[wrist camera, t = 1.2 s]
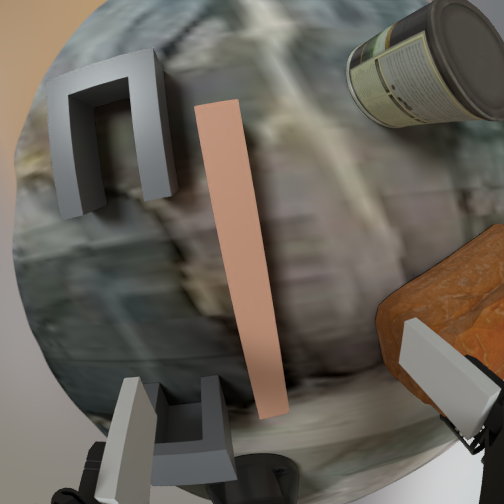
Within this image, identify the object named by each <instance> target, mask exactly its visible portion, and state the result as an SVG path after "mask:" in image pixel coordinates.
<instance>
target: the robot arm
mask: <svg viewBox="0 0 504 504" xmlns="http://www.w3.org/2000/svg"><path fill="white" fill-rule="evenodd" d="M399 364H400V365H401V366H402V367H403V368H404V369H405V370H406V371H407V373H408V374H409V375H410V376H411V377H412V378H413V379H414V380H415V381H416V382H417V384H418V385H419V386H420V387H421V388H422V389H423V390H424V391H425V392H426V394H427V395H428V396H429V397H430V398H431V399H432V400H433V401H434V403H435V404H436V405H437V406H438V407H439V408H440V409H441V410H442V412H443V413H444V414H445V415H446V416H447V417H448V418H449V420H450V421H451V422H452V423H453V424H454V425H455V426H456V428H457V429H458V430H459V431H460V432H461V433H462V435H463V436H464V437H465V438H466V439H467V440H469V439H471V438H472V437H473V436H475V435H476V434H478V433H479V432H480V430H481V428H482V426H483V425H484V424H485V425H486V426H487V429H486V430H485V432H484V434H483V436H482V437H481V439H480V442H479V443H482V441H483V440H484V438H485V442H484V443H485V453H484V467H483V477H482V486H481V494H480V500H479V504H504V381H503V380H502V379H501V378H500V377H499V376H497V375H496V374H495V373H494V372H493V371H491V370H489V368H488V367H487V366H485V365H483V363H482V362H481V361H479V360H478V359H477V358H475V357H473V356H470V355H468V354H467V355H465V356H463V355H462V354H460V353H459V352H458V351H457V350H456V349H454V348H453V347H452V346H451V345H450V344H448V343H447V342H446V341H445V340H444V339H442V338H441V337H440V336H439V335H437V334H436V333H435V332H434V331H433V330H431V329H430V328H429V327H428V326H426V325H425V324H424V323H423V322H421V321H420V320H419V319H418V318H416V317H415V318H413V319H410V320H407V321H405V323H404V331H403V338H402V345H401V352H400V358H399ZM156 423H157V415H156V413H155V411H154V409H153V407H152V404H151V402H150V400H149V398H148V396H147V394H146V391H145V389H144V387H143V385H142V382H141V380H140V378H139V377H134V378H124V381H123V384H122V388H121V391H120V394H119V398H118V401H117V405H116V408H115V412H114V415H113V419H112V423H111V427H110V430H109V434H108V438H107V442H95V443H94V444H93V446H92V447H91V448H90V449H89V452H88V455H87V459H86V460H87V462H86V463H85V467H84V468H85V469H84V470H83V474H82V478H81V482H80V486H79V491H76V490H74V489H72V488H63V489H59V490H58V491H57V492H55V494H54V495H53V497H52V500H51V504H149V499H150V484H151V472H152V461H153V450H154V441H155V432H156ZM234 459H235V466H236V472H237V478H238V480H232V481H225V482H216V483H206V490H207V493H208V495H209V497H210V499H211V501H212V502H213V504H297V497H298V486H299V475H298V471H297V468H296V465H295V464H294V462H293V461H291V460H290V459H288V458H286V457H283V456H279V455H273V454H253V455H245V456H240V457H236V458H234Z"/></svg>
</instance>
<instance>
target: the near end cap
mask: <svg viewBox="0 0 504 504" xmlns="http://www.w3.org/2000/svg"><path fill="white" fill-rule="evenodd" d="M46 89H47V116H48V131H49V142H50V151H51V160H52V167H53V174H54V181H55V187H56V193H57V198H58V204H59V209H60V214H61V219H62V220H65V219H69V218H73V217H77V216H81V215H84V214H87V213H89V212H91V211H94V210H96V209H98V208H101V207H103V206H106V205H107V201H106V196H105V191H104V185H103V179H102V172H101V166H100V159H99V152H98V144H97V135H96V126H95V115H94V108H95V107H98V106H101V105H105V104H108V103H112V102H115V101H119V100H123V99H127V98H130V102H131V112H132V121H133V130H134V138H135V145H136V152H137V159H138V166H139V173H140V179H141V185H142V191H143V196H144V201H149V200H154V199H159V198H164V197H169V196H172V195H173V194H174V193H176V192H177V191H178V190H179V188H178V182H177V175H176V169H175V162H174V156H173V149H172V141H171V134H170V127H169V119H168V110H167V102H166V93H165V84H164V74H163V69H162V67H161V65H160V62H159V60H158V58H157V55H156V53H155V51H154V48H153V47H152V48H148V49H143V50H139V51H135V52H131V53H127V54H123V55H120V56H116V57H113V58H109V59H106V60H103V61H99V62H96V63H93V64H90V65H87V66H84V67H81V68H78V69H76V70H73V71H70V72H67V73H65V74H62V75H60V76H57V77H55V78H52V79H50V80H48V81H46Z"/></svg>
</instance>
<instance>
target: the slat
mask: <svg viewBox="0 0 504 504" xmlns="http://www.w3.org/2000/svg"><path fill="white" fill-rule="evenodd" d="M194 109H195V114H196V120H197V126H198V132H199V137H200V143H201V149H202V154H203V160H204V165H205V170H206V176H207V181H208V186H209V192H210V197H211V202H212V207H213V212H214V217H215V222H216V227H217V232H218V237H219V242H220V247H221V252H222V256H223V261H224V266H225V271H226V275H227V280H228V285H229V289H230V294H231V298H232V303H233V307H234V312H235V316H236V321H237V325H238V330H239V334H240V338H241V343H242V347H243V351H244V356H245V360H246V364H247V368H248V373H249V377H250V381H251V385H252V389H253V393H254V397H255V401H256V405H257V409H258V413H259V417H260V420H261V419H266V418H270V417H274V416H279V415H283V414H286V413H289V406H288V399H287V392H286V386H285V379H284V373H283V366H282V359H281V353H280V347H279V340H278V334H277V327H276V321H275V315H274V308H273V302H272V296H271V290H270V283H269V277H268V271H267V265H266V259H265V253H264V247H263V241H262V235H261V229H260V223H259V217H258V211H257V205H256V199H255V193H254V188H253V182H252V176H251V170H250V164H249V159H248V153H247V147H246V142H245V136H244V130H243V125H242V119H241V114H240V108H239V103H238V99H234V100H228V101H221V102H215V103H209V104H204V105H199V106H194Z"/></svg>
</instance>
